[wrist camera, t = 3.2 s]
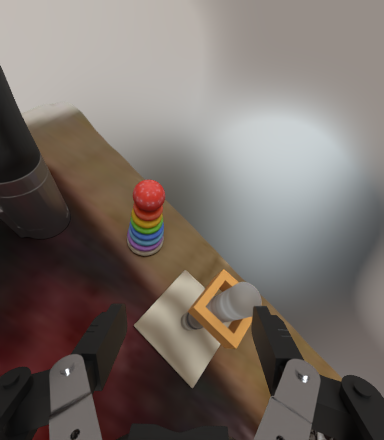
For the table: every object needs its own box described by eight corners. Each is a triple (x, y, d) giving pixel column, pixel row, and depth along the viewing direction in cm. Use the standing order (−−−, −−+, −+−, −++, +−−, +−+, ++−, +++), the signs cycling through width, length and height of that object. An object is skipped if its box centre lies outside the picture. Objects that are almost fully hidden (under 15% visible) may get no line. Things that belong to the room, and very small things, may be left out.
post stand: (190, 386, 35) (277, 454, 14) (133, 326, 38) (133, 304, 16) (233, 318, 42) (333, 294, 21) (183, 271, 45) (228, 207, 24)
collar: (224, 348, 23) (236, 348, 20) (187, 311, 24) (193, 307, 21) (249, 307, 26) (262, 303, 23) (215, 276, 27) (223, 268, 24)
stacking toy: (170, 239, 48) (187, 189, 32) (146, 264, 44) (153, 220, 28) (144, 218, 49) (149, 160, 34) (119, 241, 45) (110, 187, 29)
